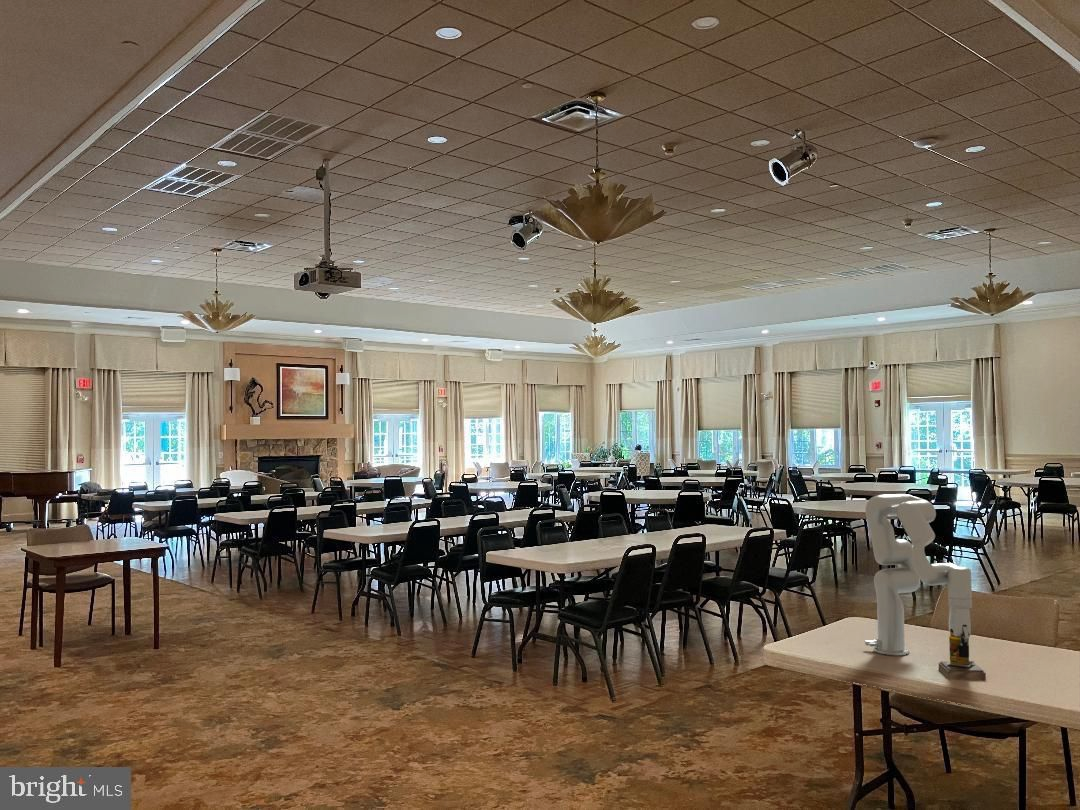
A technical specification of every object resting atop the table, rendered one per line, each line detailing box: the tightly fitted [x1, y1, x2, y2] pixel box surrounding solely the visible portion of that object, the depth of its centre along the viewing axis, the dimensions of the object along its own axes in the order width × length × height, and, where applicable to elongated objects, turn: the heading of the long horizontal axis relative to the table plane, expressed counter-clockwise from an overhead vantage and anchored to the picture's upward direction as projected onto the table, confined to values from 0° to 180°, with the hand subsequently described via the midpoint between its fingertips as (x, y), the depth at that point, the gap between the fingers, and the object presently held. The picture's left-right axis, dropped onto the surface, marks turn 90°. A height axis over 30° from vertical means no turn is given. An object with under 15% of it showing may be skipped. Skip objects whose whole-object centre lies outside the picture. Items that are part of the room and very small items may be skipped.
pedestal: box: [938, 661, 987, 681], centre depth 314 cm, size 12×12×3 cm
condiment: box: [946, 629, 975, 667], centre depth 315 cm, size 7×8×12 cm
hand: (960, 654), depth 315 cm, fingers closed on condiment, 6 cm apart
